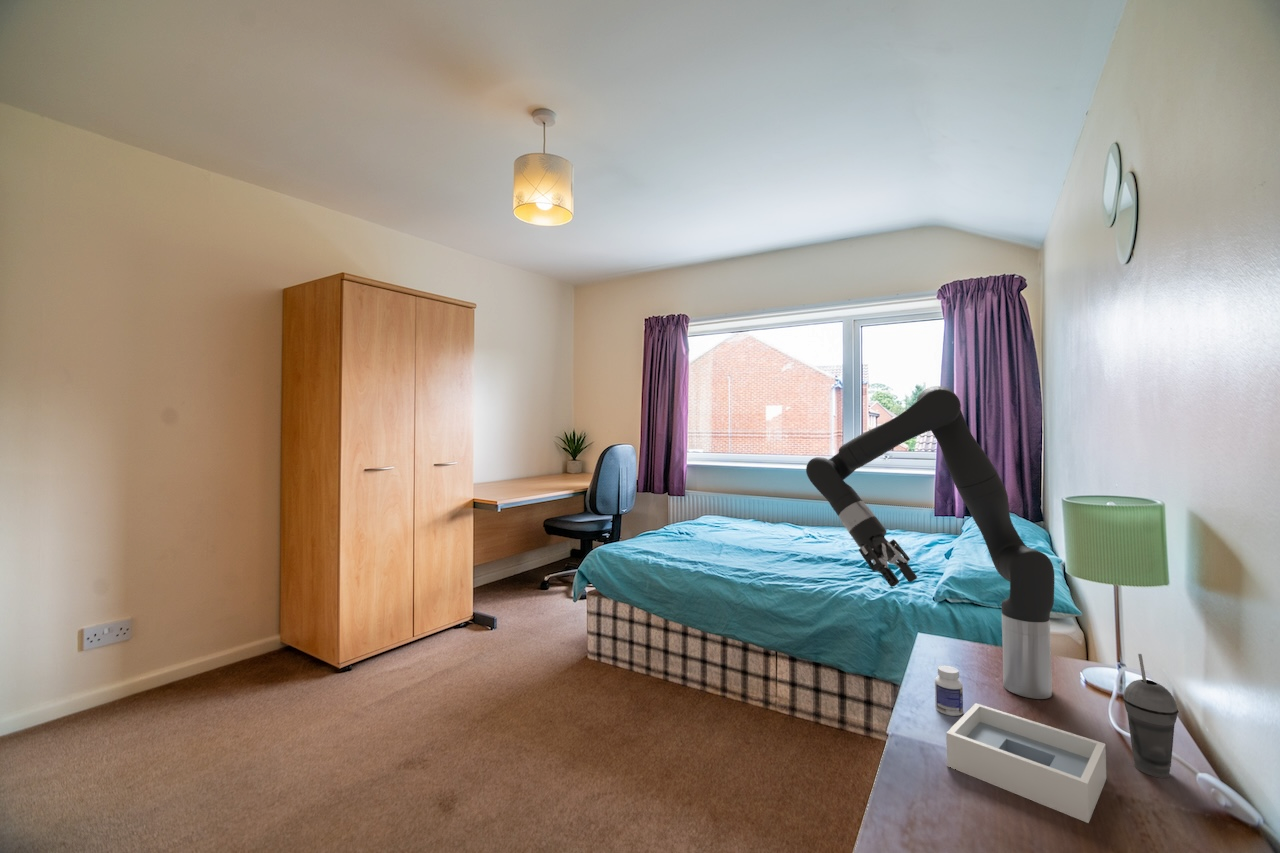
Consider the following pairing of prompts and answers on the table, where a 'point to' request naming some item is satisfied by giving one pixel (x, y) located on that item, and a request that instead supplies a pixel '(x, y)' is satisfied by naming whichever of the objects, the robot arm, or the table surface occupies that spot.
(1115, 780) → the table surface
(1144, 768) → the beverage cup
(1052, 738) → the bore box
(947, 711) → the pill bottle
